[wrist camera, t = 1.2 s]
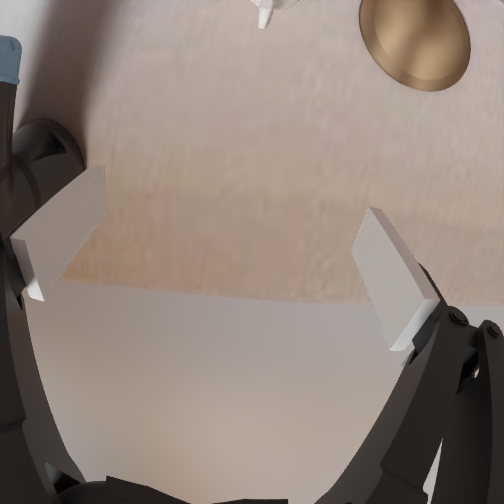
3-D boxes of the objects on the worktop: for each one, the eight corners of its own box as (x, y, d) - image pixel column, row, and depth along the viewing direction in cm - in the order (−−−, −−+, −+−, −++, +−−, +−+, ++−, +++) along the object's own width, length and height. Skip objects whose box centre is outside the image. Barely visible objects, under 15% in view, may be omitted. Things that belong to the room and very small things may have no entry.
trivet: (347, 64, 28) (350, 64, 27) (368, -42, 19) (371, -45, 18) (453, 108, 29) (458, 110, 28) (472, 12, 20) (476, 11, 19)
